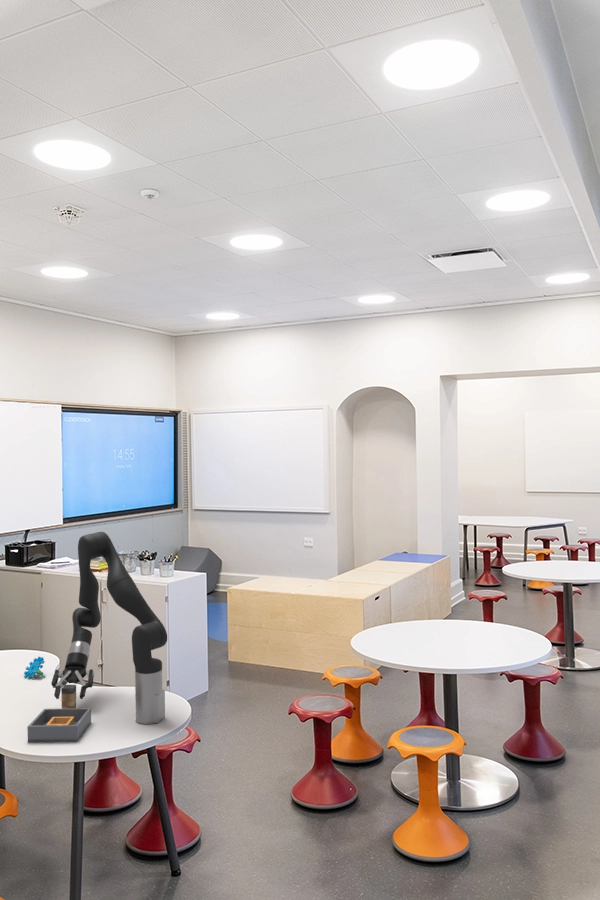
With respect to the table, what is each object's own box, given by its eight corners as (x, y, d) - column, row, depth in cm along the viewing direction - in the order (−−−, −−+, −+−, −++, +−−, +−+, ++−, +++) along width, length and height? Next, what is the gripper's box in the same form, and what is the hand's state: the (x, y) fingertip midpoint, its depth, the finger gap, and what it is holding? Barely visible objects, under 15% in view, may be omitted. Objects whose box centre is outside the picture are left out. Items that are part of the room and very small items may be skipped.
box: (91, 722, 254) (90, 708, 254) (77, 741, 238) (77, 725, 238) (44, 723, 254) (44, 708, 254) (27, 742, 238) (27, 726, 238)
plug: (76, 712, 264) (76, 684, 264) (73, 716, 260) (72, 688, 260) (65, 712, 264) (64, 684, 264) (61, 716, 260) (61, 688, 260)
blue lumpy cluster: (19, 671, 308) (37, 652, 311) (29, 679, 311) (47, 659, 314) (27, 681, 299) (46, 661, 302) (38, 689, 302) (55, 669, 305)
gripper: (56, 651, 271) (46, 693, 260) (95, 651, 271) (87, 692, 260) (61, 661, 276) (51, 703, 265) (99, 661, 276) (91, 702, 265)
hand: (69, 697), depth 262 cm, fingers open, 8 cm apart
